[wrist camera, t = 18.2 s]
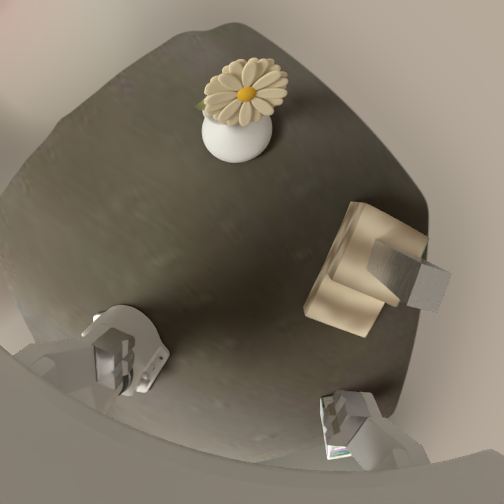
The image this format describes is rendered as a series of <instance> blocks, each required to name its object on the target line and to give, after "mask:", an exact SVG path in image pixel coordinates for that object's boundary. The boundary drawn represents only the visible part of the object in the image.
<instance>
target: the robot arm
mask: <svg viewBox="0 0 504 504" xmlns="http://www.w3.org/2000/svg"><path fill="white" fill-rule="evenodd" d="M169 356H170V352H169V351H168V349H167V348H166V347H165V345H164V344H163V343H162V341H161V339H160V337H159V334H158V332H157V330H156V328H155V326H154V325H153V323H152V322H151V321H150V319H149V318H148V317H147V316H146V315H144V314H143V313H142V312H140V311H139V310H137V309H135V308H133V307H130V306H127V305H116V306H113V307H111V308H110V309H108V310H107V311H106V312H102V313H97V314H95V315H94V317H93V323H92V324H91V325H90V326H89V327H88V328H87V329H86V330H85V331H84V332H83V333H82V338H81V339H79V338H73V339H66V340H59V341H51V342H43V343H35V344H29V345H28V346H26V347H25V348H23V349H22V350H20V351H19V352H18V353H16V354H15V355H13V356H12V355H11V354H10V353H9V352H7V351H6V350H5V349H4V348H3V347H2V346H0V504H504V456H503V455H502V454H500V453H498V452H497V451H494V450H492V449H489V450H484V451H481V452H477V453H474V454H471V455H467V456H463V457H459V458H455V459H451V460H447V461H442V462H437V463H432V464H430V461H429V459H428V457H427V455H426V453H425V450H424V448H423V446H422V445H420V444H419V443H418V442H416V441H415V440H413V439H412V438H411V437H410V436H408V435H407V434H406V433H404V432H403V431H402V430H400V429H399V428H398V427H396V426H395V425H394V424H393V423H391V422H390V421H389V420H387V419H386V418H382V416H381V413H380V411H379V409H378V406H377V404H376V402H375V399H374V397H373V395H372V394H371V393H368V392H352V391H343V390H337V391H336V392H335V393H334V395H333V397H332V398H333V402H332V403H330V404H328V406H327V407H326V409H325V412H324V416H323V424H324V426H325V427H326V429H327V431H326V433H325V437H326V443H327V445H330V446H342V447H346V449H347V450H348V451H349V452H350V453H351V455H352V456H353V457H354V458H355V459H356V460H357V462H358V463H359V464H360V465H361V467H362V468H363V469H364V470H365V471H316V470H315V471H314V470H302V469H291V468H283V467H274V466H268V465H261V464H255V463H250V462H245V461H240V460H235V459H230V458H226V457H221V456H217V455H213V454H209V453H206V452H202V451H198V450H195V449H191V448H188V447H185V446H182V445H179V444H176V443H173V442H170V441H167V440H164V439H161V438H158V437H156V436H153V435H150V434H148V433H145V432H143V431H140V430H138V429H136V428H133V427H131V426H129V425H126V424H124V423H122V422H120V421H118V420H115V419H113V418H111V417H109V416H107V415H105V414H106V413H107V411H108V409H109V408H110V406H111V405H112V403H113V402H114V400H115V399H116V397H117V396H119V395H121V394H123V395H127V396H131V395H133V394H134V393H135V392H136V391H137V392H147V391H148V390H149V388H150V387H151V385H152V383H153V382H154V380H155V379H156V377H157V375H158V374H159V372H160V371H161V369H162V367H163V366H164V364H165V363H166V361H167V359H168V358H169ZM161 357H163V358H161Z"/></svg>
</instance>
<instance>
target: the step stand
mask: <svg viewBox="0 0 504 504" xmlns="http://www.w3.org/2000/svg"><path fill="white" fill-rule="evenodd" d="M375 240H377V241H380V242H383V243H386V244H389V245H392V246H395V247H398V248H401V249H403V250H405V251H407V252H409V253H411V254H413V255H416V256H418V257H420V258H421V257H422V254H423V252H424V250H425V247H426V245H427V242H428V240H429V238H428V237H427V236H425V235H424V234H422V233H420V232H419V231H417V230H415V229H413V228H412V227H410V226H408V225H406V224H404V223H403V222H401V221H399V220H397V219H395V218H394V217H392V216H390V215H388V214H386V213H384V212H382V211H380V210H379V209H377V208H375V207H373V206H371V205H369V204H367V203H361V202H352V201H351V202H350V205H349V207H348V210H347V212H346V214H345V217H344V219H343V221H342V224H341V226H340V228H339V231H338V233H337V235H336V238H335V240H334V242H333V244H332V247H331V249H330V251H329V253H328V255H327V258H326V260H325V262H324V264H323V266H322V268H321V271H320V273H319V275H318V277H317V279H316V281H315V283H314V285H313V287H312V289H311V291H310V294H309V296H308V298H307V300H306V302H305V304H304V306H303V309H304V313H305V316H307V317H309V318H312V319H315V320H317V321H320V322H323V323H325V324H328V325H331V326H334V327H336V328H339V329H342V330H345V331H348V332H350V333H353V334H356V335H359V336H362V337H366V336H367V334H368V332H369V331H370V329H371V327H372V325H373V324H374V322H375V320H376V318H377V317H378V315H379V313H380V311H381V309H382V308H383V306H384V304H385V303H387V304H390V305H392V306H394V307H397V306H398V304H399V302H400V299H399V298H398V297H397V296H396V295H394V294H393V293H392V292H391V291H390V290H389V289H388V288H387V287H386V286H385V285H383V284H382V283H381V282H380V281H379V280H378V279H377V278H375V277H374V276H373V275H372V274H371V273H370V272H369V271H367V270H366V267H367V264H368V261H369V257H370V254H371V251H372V248H373V245H374V241H375Z"/></svg>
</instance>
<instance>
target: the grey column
mask: <svg viewBox="0 0 504 504" xmlns="http://www.w3.org/2000/svg"><path fill="white" fill-rule="evenodd" d="M366 270H367V271H369V272H370V273H371V274H372V275H373V276H374V277H375V278H377V279H378V280H379V281H380V282H381V283H382V284H383V285H385V286H386V287H387V288H388V289H389V290H390V291H391V292H392V293H393V294H394V295H396V296H397V297H398V298H399V299H400V300H401V301H402V302H403V303H404V304H405V305H407V306H411V307H415V308H419V309H424V310H428V311H432V312H436V313H437V311H438V308H439V306H440V303H441V301H442V298H443V296H444V293H445V291H446V288H447V285H448V283H449V279H450V277H451V273H449V272H447V271H445V270H443V269H441V268H439V267H438V266H436V265H433V264H432V263H430V262H428V261H426V260H424V259H422V258H420V257H418V256H416V255H413V254H411V253H409V252H407V251H405V250H403V249H401V248H398V247H395V246H392V245H389V244H386V243H383V242H380V241H377V240H375V241H374V245H373V248H372V251H371V254H370V257H369V261H368V264H367V267H366Z"/></svg>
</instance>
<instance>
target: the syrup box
mask: <svg viewBox="0 0 504 504" xmlns="http://www.w3.org/2000/svg"><path fill="white" fill-rule="evenodd" d="M332 397H333V396H327V397H321V398H320V415H321V420H322V425H323V432H324V439H325V446H326V453H327V459H328V460H330V459H336V458H342V457H348V456H352V455H351V453H350V452H349V451H348V450H347V449H346V447H342V446H330V445H327V443H326V437H325V433H326V431H327V429H326V427H325V426H324V424H323V416H324V412H325V409H326V407H327V406H328V404H330V403H332V402H333V398H332Z"/></svg>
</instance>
